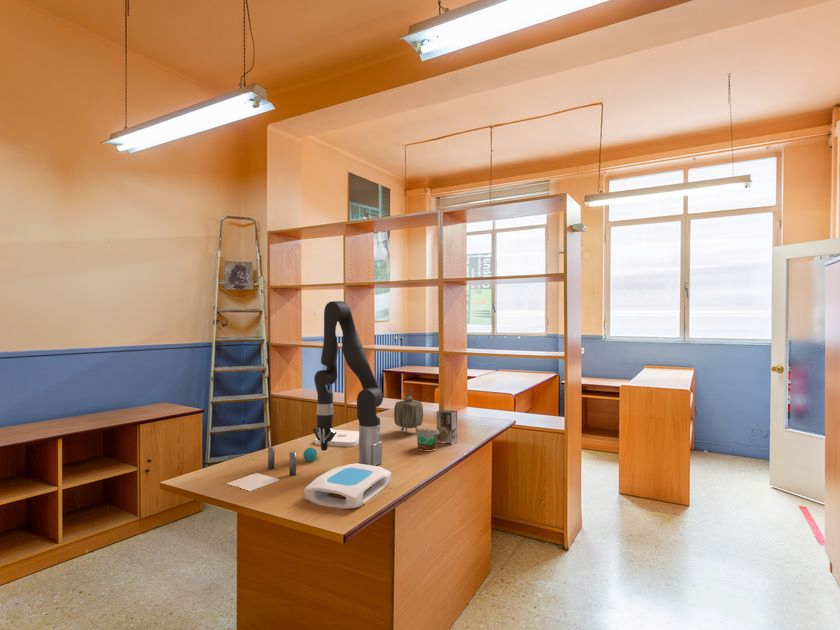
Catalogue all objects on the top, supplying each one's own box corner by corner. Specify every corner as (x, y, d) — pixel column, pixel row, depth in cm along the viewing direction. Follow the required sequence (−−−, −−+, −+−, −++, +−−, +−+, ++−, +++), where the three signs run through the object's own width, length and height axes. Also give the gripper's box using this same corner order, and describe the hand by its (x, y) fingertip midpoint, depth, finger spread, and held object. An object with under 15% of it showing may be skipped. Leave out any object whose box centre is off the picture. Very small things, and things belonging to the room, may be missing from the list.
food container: (411, 450, 218) (411, 429, 218) (416, 446, 224) (416, 426, 224) (435, 453, 214) (435, 432, 214) (439, 449, 219) (439, 429, 220)
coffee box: (457, 442, 233) (457, 410, 233) (451, 444, 228) (451, 413, 228) (442, 439, 238) (442, 408, 238) (436, 442, 233) (436, 410, 233)
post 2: (297, 474, 184) (297, 452, 184) (292, 476, 182) (292, 453, 182) (292, 473, 185) (293, 451, 185) (288, 475, 183) (288, 452, 183)
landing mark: (279, 480, 177) (279, 479, 177) (249, 491, 166) (249, 491, 166) (256, 473, 185) (256, 472, 185) (226, 483, 173) (226, 483, 173)
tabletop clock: (423, 433, 251) (423, 388, 251) (414, 436, 243) (414, 390, 243) (401, 429, 259) (401, 386, 259) (392, 432, 251) (392, 388, 251)
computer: (354, 448, 223) (354, 442, 223) (312, 445, 227) (312, 440, 227) (368, 436, 244) (368, 431, 244) (329, 434, 249) (330, 429, 249)
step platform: (302, 502, 157) (303, 484, 157) (345, 476, 183) (345, 461, 183) (355, 512, 149) (355, 493, 149) (391, 483, 175) (392, 467, 175)
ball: (319, 460, 202) (320, 447, 202) (310, 464, 196) (310, 450, 197) (310, 458, 205) (310, 445, 205) (300, 461, 200) (300, 448, 200)
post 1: (275, 468, 191) (275, 447, 191) (270, 470, 189) (270, 448, 189) (271, 467, 192) (271, 446, 192) (266, 469, 190) (266, 447, 190)
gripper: (341, 413, 208) (340, 450, 208) (320, 409, 215) (319, 445, 215) (330, 416, 202) (329, 454, 202) (308, 412, 209) (307, 449, 209)
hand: (324, 450), depth 209 cm, fingers closed
